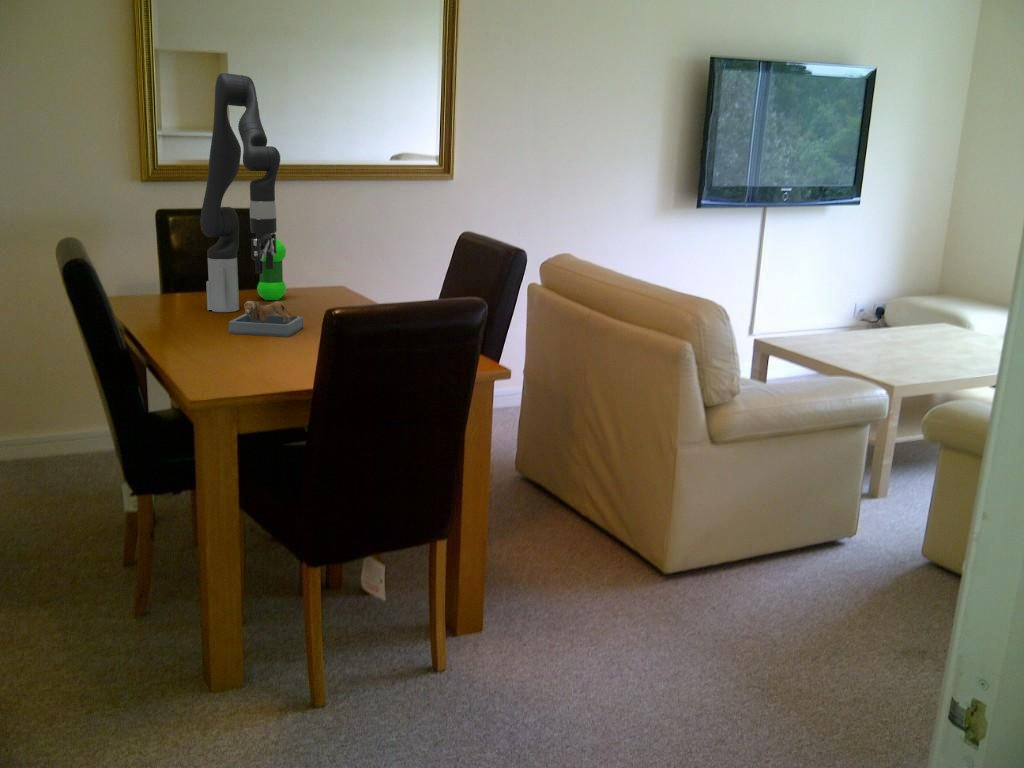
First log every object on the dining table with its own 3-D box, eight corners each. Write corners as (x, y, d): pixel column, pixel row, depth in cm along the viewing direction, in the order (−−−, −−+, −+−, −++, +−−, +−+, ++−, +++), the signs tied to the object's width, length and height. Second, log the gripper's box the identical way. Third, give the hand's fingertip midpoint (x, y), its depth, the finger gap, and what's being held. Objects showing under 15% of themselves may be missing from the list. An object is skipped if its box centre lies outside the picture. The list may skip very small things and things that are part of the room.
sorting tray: (229, 333, 306) (228, 322, 305) (246, 324, 319) (245, 313, 318) (288, 337, 304) (288, 325, 303) (303, 328, 317) (303, 316, 316)
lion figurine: (249, 333, 309) (239, 304, 307) (255, 329, 314) (244, 301, 312) (295, 320, 307) (285, 291, 305) (300, 316, 312) (290, 288, 310)
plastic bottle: (253, 297, 362) (251, 225, 355) (283, 296, 366) (281, 224, 359) (259, 302, 353) (257, 229, 346) (290, 301, 357) (288, 228, 351)
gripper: (259, 213, 310) (261, 267, 314) (241, 218, 296) (243, 274, 301) (283, 214, 309) (285, 268, 313) (266, 219, 295) (268, 276, 300)
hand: (264, 271), depth 307 cm, fingers open, 8 cm apart
